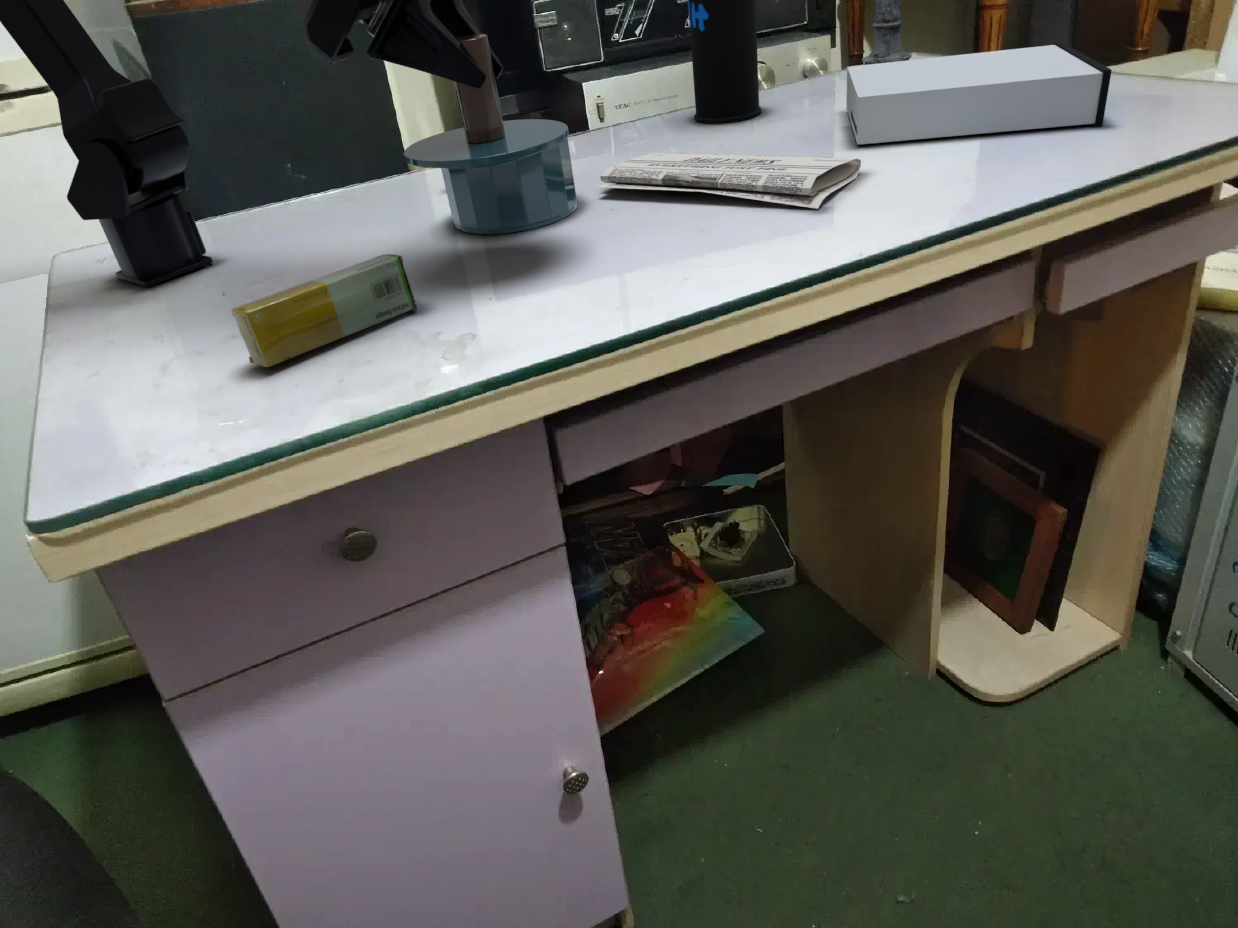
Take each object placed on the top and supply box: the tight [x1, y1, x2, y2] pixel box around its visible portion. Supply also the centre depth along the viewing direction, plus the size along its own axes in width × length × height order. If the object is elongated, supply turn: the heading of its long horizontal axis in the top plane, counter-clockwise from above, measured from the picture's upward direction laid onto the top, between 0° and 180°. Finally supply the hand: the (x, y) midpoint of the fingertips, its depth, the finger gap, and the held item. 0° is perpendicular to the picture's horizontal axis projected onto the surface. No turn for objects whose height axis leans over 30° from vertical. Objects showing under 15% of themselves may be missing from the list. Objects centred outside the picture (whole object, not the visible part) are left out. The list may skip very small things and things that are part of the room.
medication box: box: [231, 253, 418, 368], centre depth 60 cm, size 12×3×4 cm, turn 135°
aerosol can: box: [687, 0, 762, 124], centre depth 102 cm, size 8×8×20 cm
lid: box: [403, 33, 570, 169], centre depth 65 cm, size 13×13×8 cm
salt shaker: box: [861, 0, 913, 65], centre depth 106 cm, size 6×6×12 cm
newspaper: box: [597, 152, 862, 210], centre depth 81 cm, size 23×12×2 cm, turn 54°
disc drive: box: [845, 41, 1113, 146], centre depth 90 cm, size 18×22×5 cm
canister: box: [440, 137, 578, 235], centre depth 80 cm, size 12×12×6 cm
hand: (491, 78), depth 64 cm, fingers closed on lid, 3 cm apart
